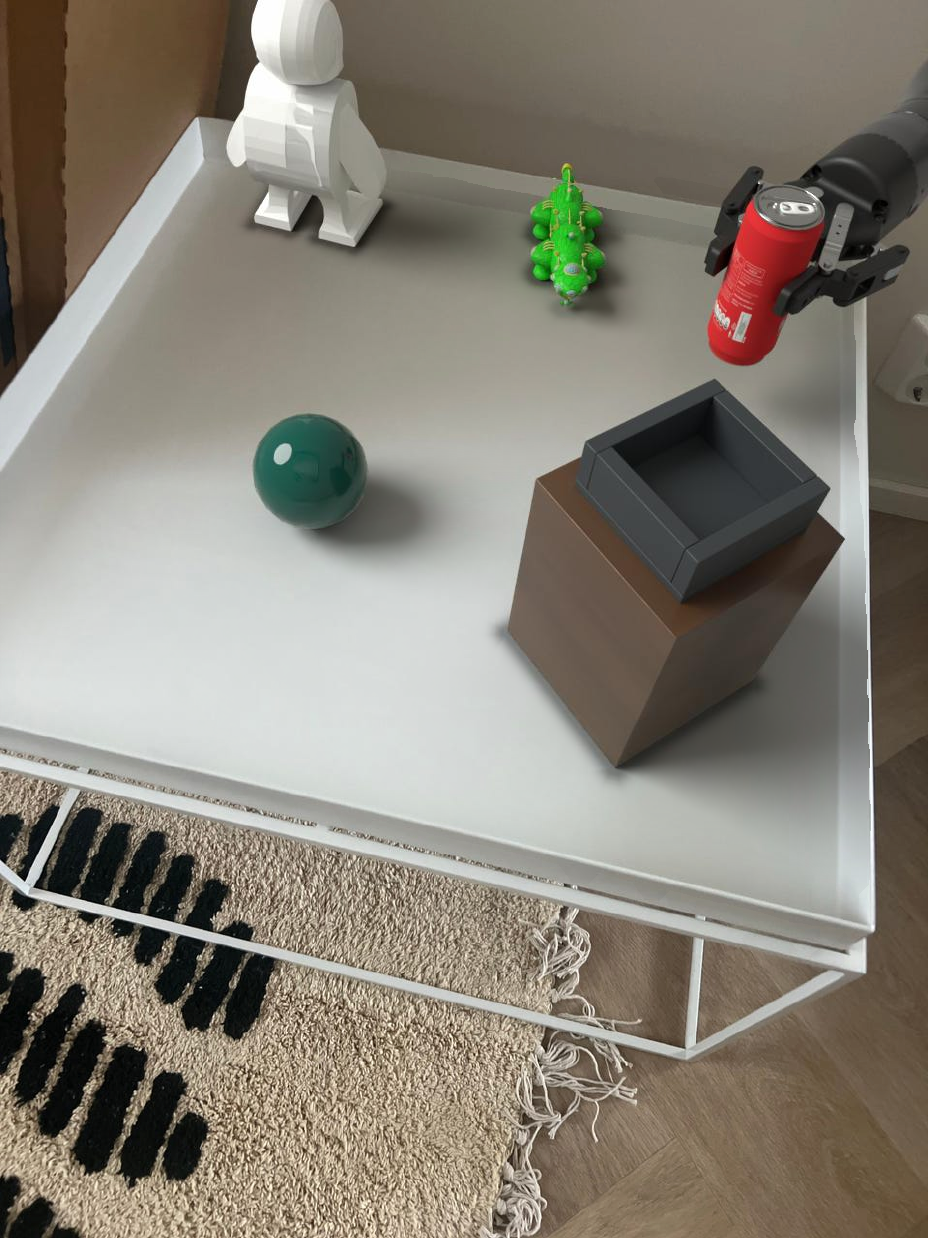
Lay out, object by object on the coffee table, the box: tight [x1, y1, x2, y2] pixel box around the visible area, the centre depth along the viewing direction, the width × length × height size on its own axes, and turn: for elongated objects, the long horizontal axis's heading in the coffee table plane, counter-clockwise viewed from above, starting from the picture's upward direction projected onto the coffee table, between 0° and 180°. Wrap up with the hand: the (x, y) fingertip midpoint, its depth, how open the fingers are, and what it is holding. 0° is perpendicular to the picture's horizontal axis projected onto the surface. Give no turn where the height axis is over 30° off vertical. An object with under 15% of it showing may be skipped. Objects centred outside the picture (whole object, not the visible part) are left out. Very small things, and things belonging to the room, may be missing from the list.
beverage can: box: [706, 184, 825, 367], centre depth 69 cm, size 5×5×12 cm
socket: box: [574, 378, 831, 604], centre depth 51 cm, size 9×9×4 cm
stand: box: [506, 456, 846, 769], centre depth 60 cm, size 12×12×16 cm
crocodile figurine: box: [529, 163, 607, 307], centre depth 87 cm, size 7×18×4 cm, turn 178°
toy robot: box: [225, 0, 387, 248], centre depth 80 cm, size 14×9×20 cm, turn 73°
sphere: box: [251, 412, 369, 530], centre depth 68 cm, size 8×8×8 cm
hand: (746, 283), depth 67 cm, fingers closed on beverage can, 5 cm apart
